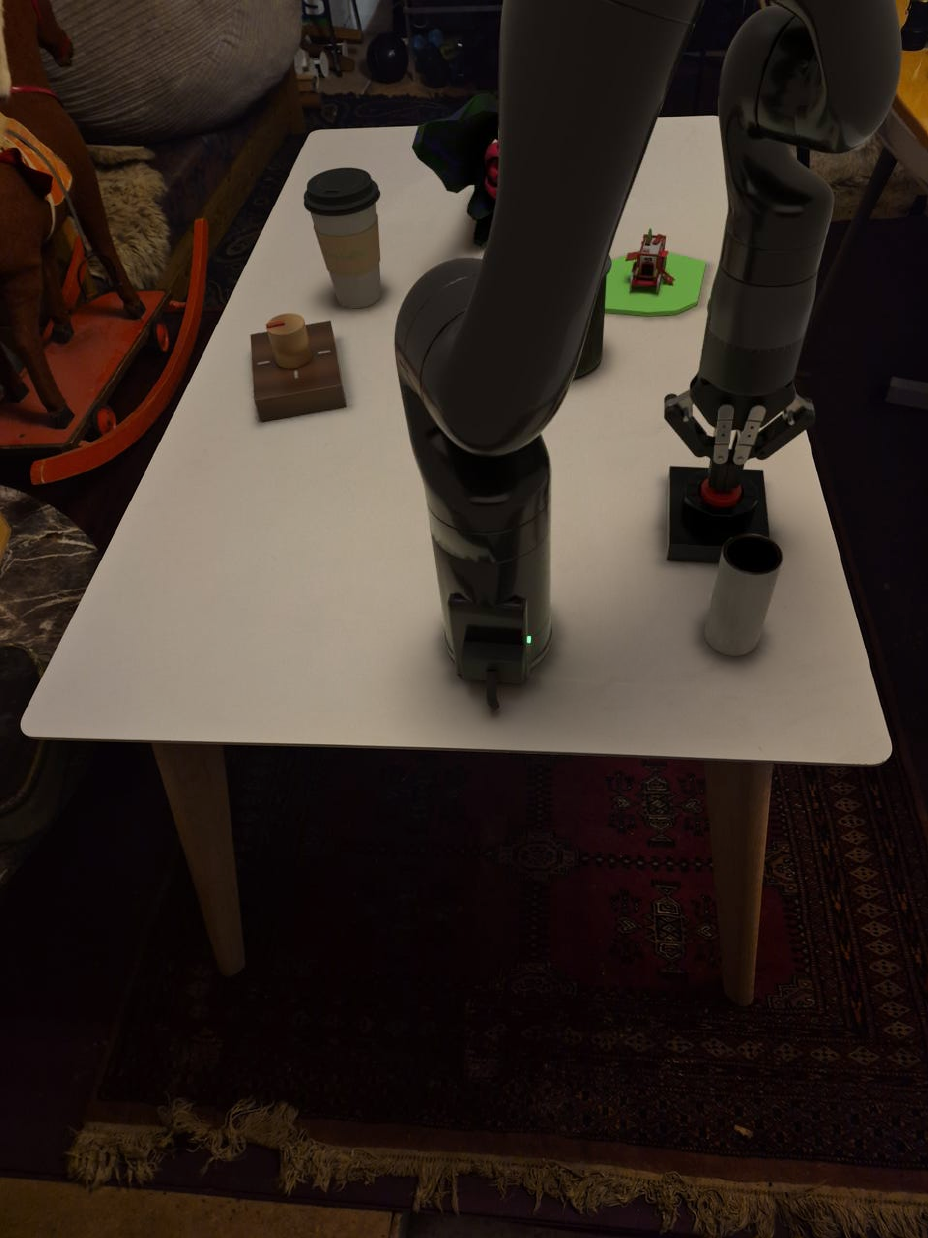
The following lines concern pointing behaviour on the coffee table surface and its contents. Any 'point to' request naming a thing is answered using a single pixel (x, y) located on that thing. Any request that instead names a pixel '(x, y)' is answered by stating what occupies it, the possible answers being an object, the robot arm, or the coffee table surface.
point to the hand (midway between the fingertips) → (722, 487)
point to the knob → (289, 340)
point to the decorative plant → (466, 156)
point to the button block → (710, 515)
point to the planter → (742, 593)
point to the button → (719, 496)
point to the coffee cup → (347, 232)
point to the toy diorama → (653, 281)
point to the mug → (594, 330)
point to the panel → (297, 377)
